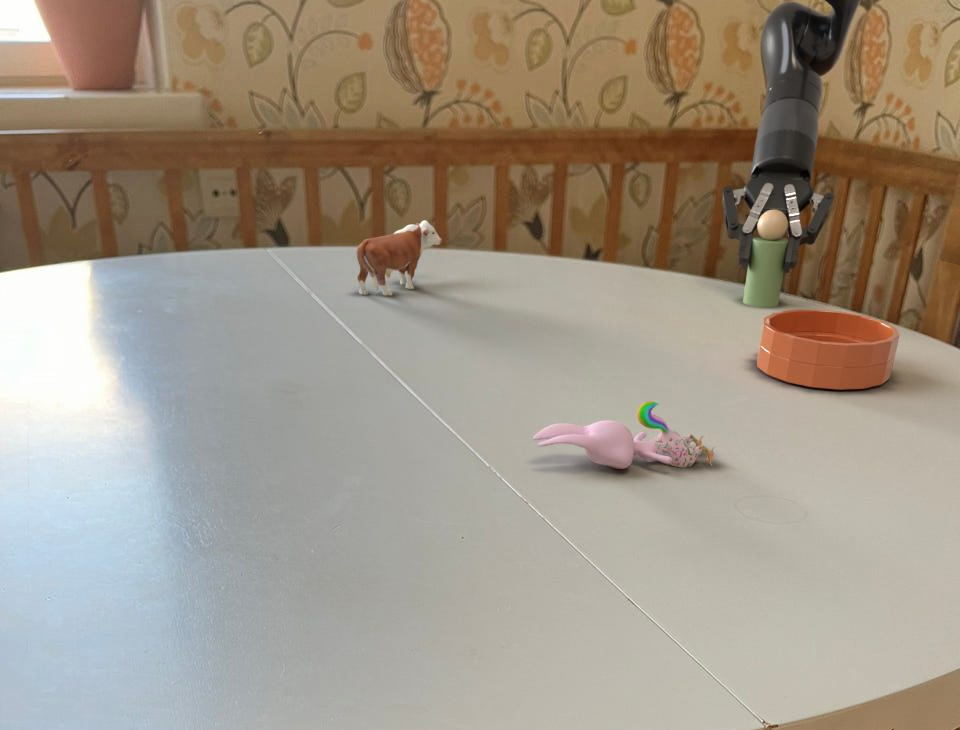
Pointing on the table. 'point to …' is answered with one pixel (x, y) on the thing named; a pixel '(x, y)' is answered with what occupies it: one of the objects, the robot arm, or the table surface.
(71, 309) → the table surface
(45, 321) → the table surface
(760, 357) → the bowl
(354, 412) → the table surface
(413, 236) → the bull figurine
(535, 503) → the table surface
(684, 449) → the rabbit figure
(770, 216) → the doll
